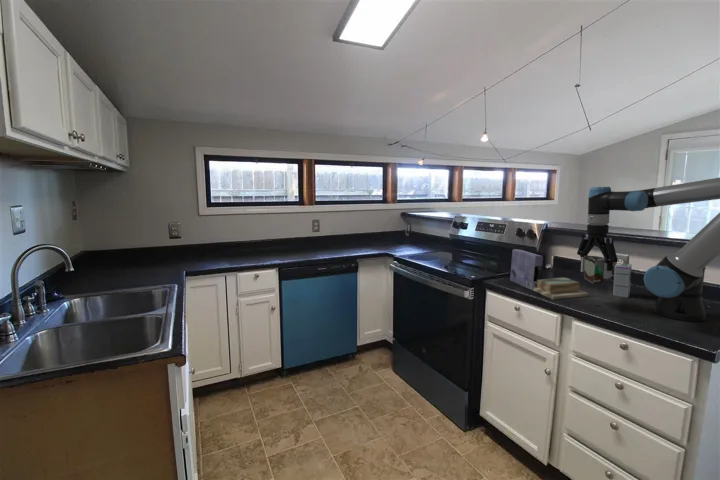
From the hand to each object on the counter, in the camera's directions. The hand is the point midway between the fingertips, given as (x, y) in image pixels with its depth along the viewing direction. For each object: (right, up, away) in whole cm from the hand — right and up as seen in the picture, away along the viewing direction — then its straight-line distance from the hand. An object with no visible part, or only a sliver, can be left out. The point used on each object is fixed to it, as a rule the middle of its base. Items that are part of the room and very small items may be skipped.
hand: (595, 274), depth 151 cm
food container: (0, -3, -1) cm, 3 cm away
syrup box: (+20, -11, +12) cm, 26 cm away
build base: (-5, -10, +20) cm, 23 cm away
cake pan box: (-15, -9, +32) cm, 36 cm away
